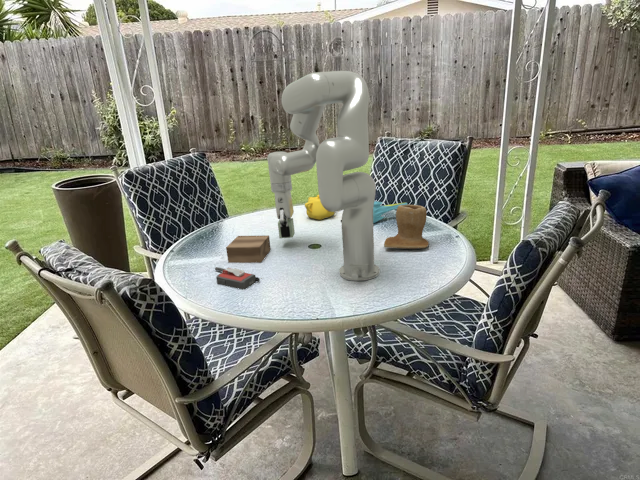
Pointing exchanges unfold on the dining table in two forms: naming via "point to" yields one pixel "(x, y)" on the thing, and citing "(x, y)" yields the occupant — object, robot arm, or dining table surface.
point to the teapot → (317, 209)
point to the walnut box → (248, 249)
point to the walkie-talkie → (235, 278)
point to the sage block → (291, 227)
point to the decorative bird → (382, 210)
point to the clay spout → (409, 228)
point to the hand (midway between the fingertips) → (287, 234)
